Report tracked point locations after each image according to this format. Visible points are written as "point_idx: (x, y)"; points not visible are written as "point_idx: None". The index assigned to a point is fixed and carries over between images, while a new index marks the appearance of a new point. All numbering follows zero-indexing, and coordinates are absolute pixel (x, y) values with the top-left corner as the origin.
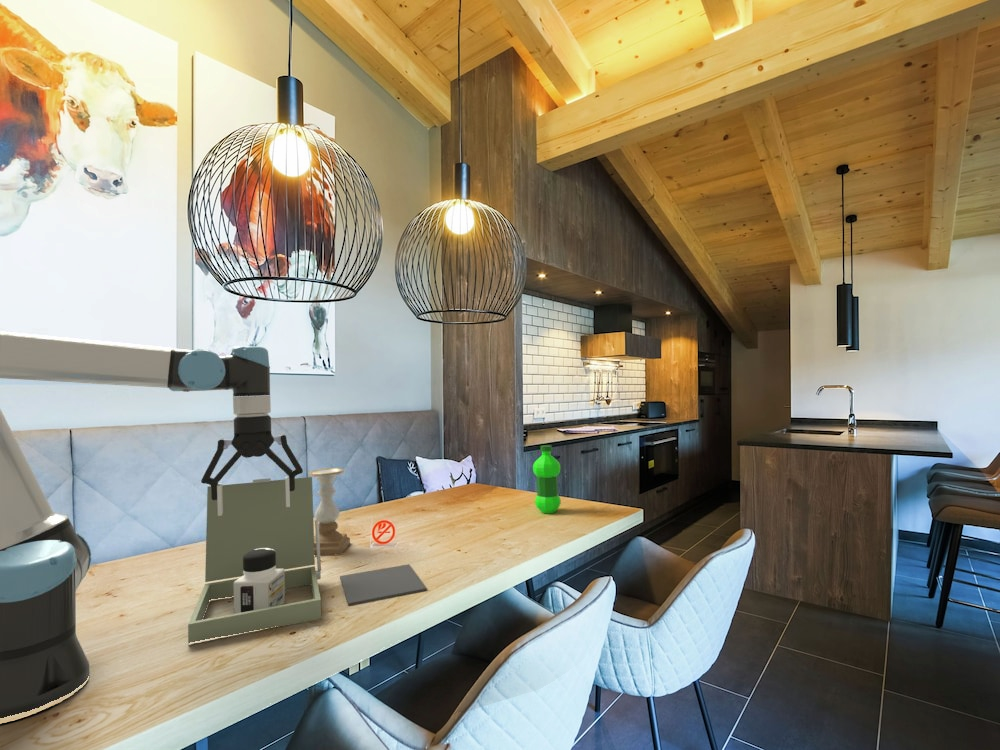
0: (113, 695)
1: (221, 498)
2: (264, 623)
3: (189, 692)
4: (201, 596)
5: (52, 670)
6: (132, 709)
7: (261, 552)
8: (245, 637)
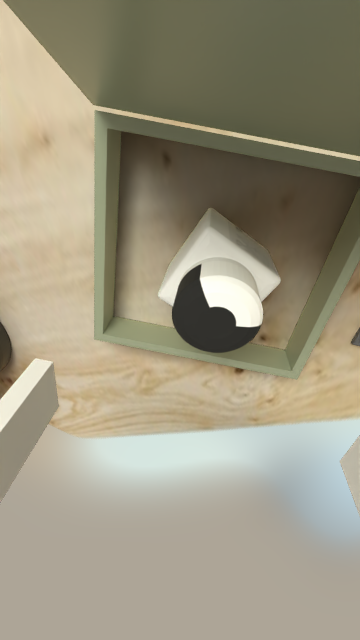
0: None
1: (9, 480)
2: None
3: (120, 414)
4: (98, 217)
5: None
6: (76, 410)
7: (218, 340)
8: None
